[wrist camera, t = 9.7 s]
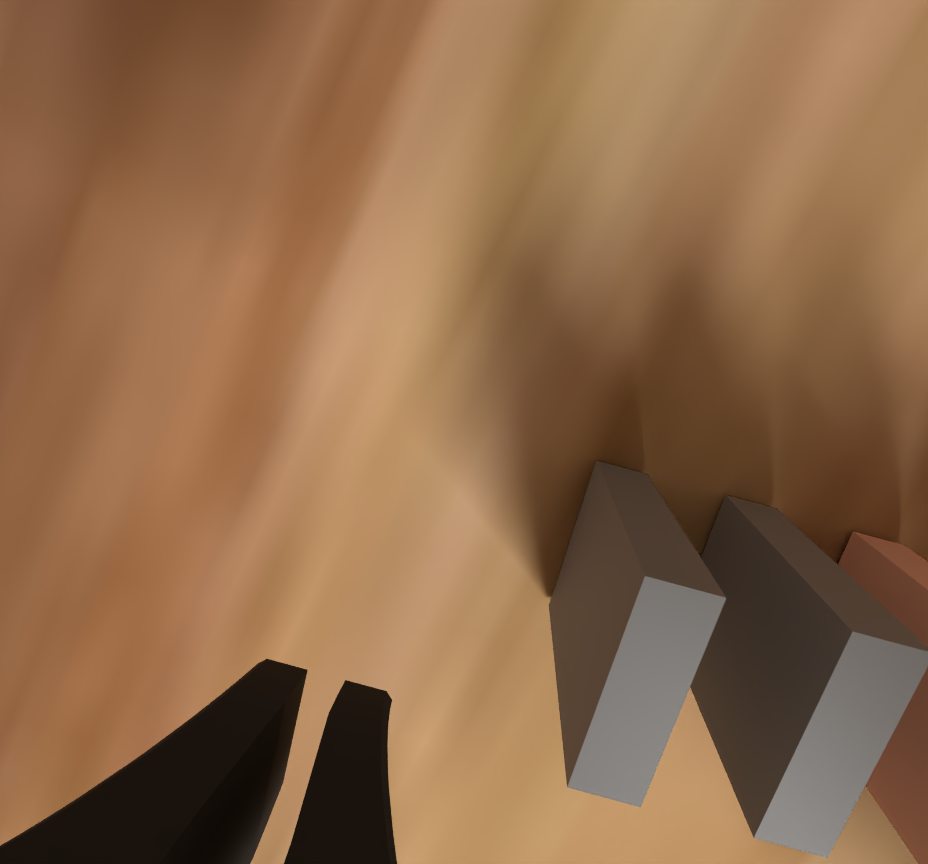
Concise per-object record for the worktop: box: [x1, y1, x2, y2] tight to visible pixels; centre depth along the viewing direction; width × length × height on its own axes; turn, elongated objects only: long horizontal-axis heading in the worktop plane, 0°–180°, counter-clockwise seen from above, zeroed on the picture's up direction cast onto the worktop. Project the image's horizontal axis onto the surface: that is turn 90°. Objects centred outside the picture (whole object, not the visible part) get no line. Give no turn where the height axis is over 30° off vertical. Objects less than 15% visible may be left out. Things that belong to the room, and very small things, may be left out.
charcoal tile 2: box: [690, 495, 928, 858], centre depth 15 cm, size 2×5×7 cm, turn 166°
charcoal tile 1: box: [549, 461, 726, 807], centre depth 15 cm, size 2×5×7 cm, turn 166°
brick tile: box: [838, 532, 928, 864], centre depth 15 cm, size 2×5×7 cm, turn 166°
